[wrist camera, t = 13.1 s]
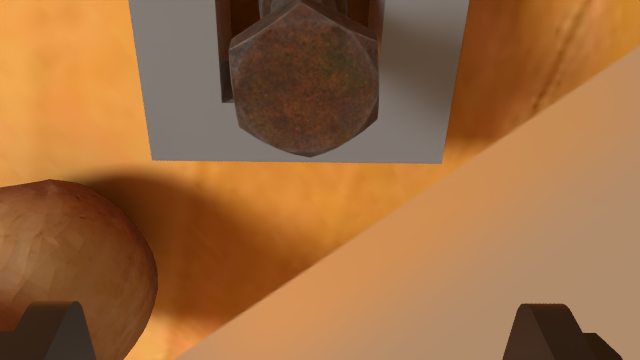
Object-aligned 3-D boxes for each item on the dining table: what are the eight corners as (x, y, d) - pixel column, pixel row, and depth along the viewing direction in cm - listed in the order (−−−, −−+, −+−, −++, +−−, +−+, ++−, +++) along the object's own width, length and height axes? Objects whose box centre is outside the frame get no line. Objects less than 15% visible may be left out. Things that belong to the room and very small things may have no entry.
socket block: (463, -175, 28) (499, -173, 23) (421, 116, 37) (441, 163, 32) (136, -187, 27) (100, -188, 22) (172, 112, 36) (152, 160, 31)
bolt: (322, -88, 30) (339, -22, 17) (369, -7, 32) (415, 104, 20) (234, -27, 32) (192, 76, 19) (285, 47, 34) (278, 182, 21)
